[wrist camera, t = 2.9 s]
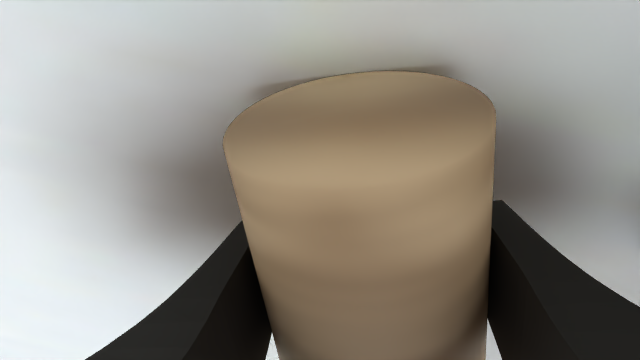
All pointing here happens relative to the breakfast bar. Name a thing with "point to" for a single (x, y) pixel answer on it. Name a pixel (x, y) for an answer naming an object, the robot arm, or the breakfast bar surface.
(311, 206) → the cylinder
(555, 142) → the breakfast bar surface
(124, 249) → the breakfast bar surface
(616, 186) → the breakfast bar surface
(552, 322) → the robot arm
